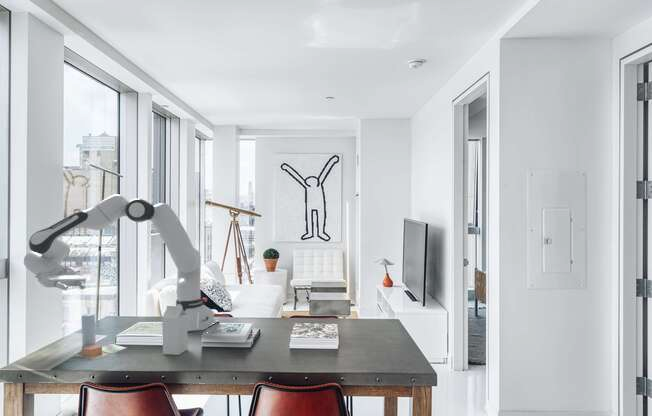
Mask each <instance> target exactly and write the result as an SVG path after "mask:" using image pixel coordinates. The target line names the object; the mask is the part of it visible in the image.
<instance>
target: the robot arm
mask: <svg viewBox="0 0 652 416" xmlns="http://www.w3.org/2000/svg"><path fill="white" fill-rule="evenodd" d="M123 217H127V218H128V219H129V220H130V221H133V222H135V223H144V222H146V221H150V222H152V223H153V225H154V227H156V230H157V232H158V233H159V236H160V237H161V239H162V240H163V242H164V244H165V246H166V248H167V251H168V252H169V255H170V257H171V259H172V260H173V263H174V265H175V267H176V268H177V277H176V301H175V306H182V307H183V310H184V311H185V312H186V314H187V332H193V331H204V330H206V329H209V328H210V327H209V326H210V325H211V324H212V323H216V322H219V323H220V320H219V319H217V318H215V314H214V310H212V309H211V308H209V307H207V305H205V304H204V302H205V303H207V302H208V298H207V297H201V296H202V295H201V264H202V263H201V259H202V258H201V253H200V251H199V250H198V249H197V248H195V247H194V245H193V244H192V242H191V240H190V237H189V234H188V233H187V231H186V230H185V228H184V225H183V224H182V222H181V220H180V219H179V216H177V214H176V213H175V211H174V210H173V209H172V207H171V206H170V205H169V204H168V203H165V202H161V203H160V202H159V203H157V204H155V205H153V204H152V203H150V202H148V201H147V200H145V199H143V198H133V199H130V200H127V198H125V196H123V195H121V194H117V193H116V194H115V193H114V194H113V195H110V196H109V197H106V198H104V199H103V200H101V201H100V202H98V203H97V204H95V205H93V206H91V207H90V208H88V209H84V210H81V211H77V212H73V213H72V214H70V215H68V216H66V217H65V218H63V219H61V220H58V221H57V222H56V223H53V224H52V225H50V226H48V227H46V228H44V229H40V230H38V231H36V232H34V233H33V234H32V235H31V236H30V238H29V241H28V247H29V249H30V250H31V251H29V252H28V253H26V254H25V256H24V258H23V264H24V266H25V268H26V269H27V270H28V271H29V272H31V273H32V274H33V275H34V277H35V278H36V279H37V282H39V284H40V285H42V286H43V287H45V288H58V289H60V290H61V291H67V290H68V288H69V287H71V288H72V287H79V289H80V290H85V289H86V287H87V286H86V285H85V284H86V281H87V277H85V276H84V275H83V274H81V273H80V272H78V271H76V270H75V268H74V267H71V266H65V265H62V263H63V262H64V261H65V259H67V258H68V256H69V255H70V252H71V248H70V245H69V244H68V243H67V242H65V241H64V240H62V239H61V237H62V236H64V235H66V234H67V233H70V232H71V231H73V230H76V229H88V230H92V231H102V230H104V229H106V228H109V227H110V226H111V225H112V224H114V223H115V222H116V221H117V220H119V219H120V218H123ZM208 327H209V328H208Z"/></svg>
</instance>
